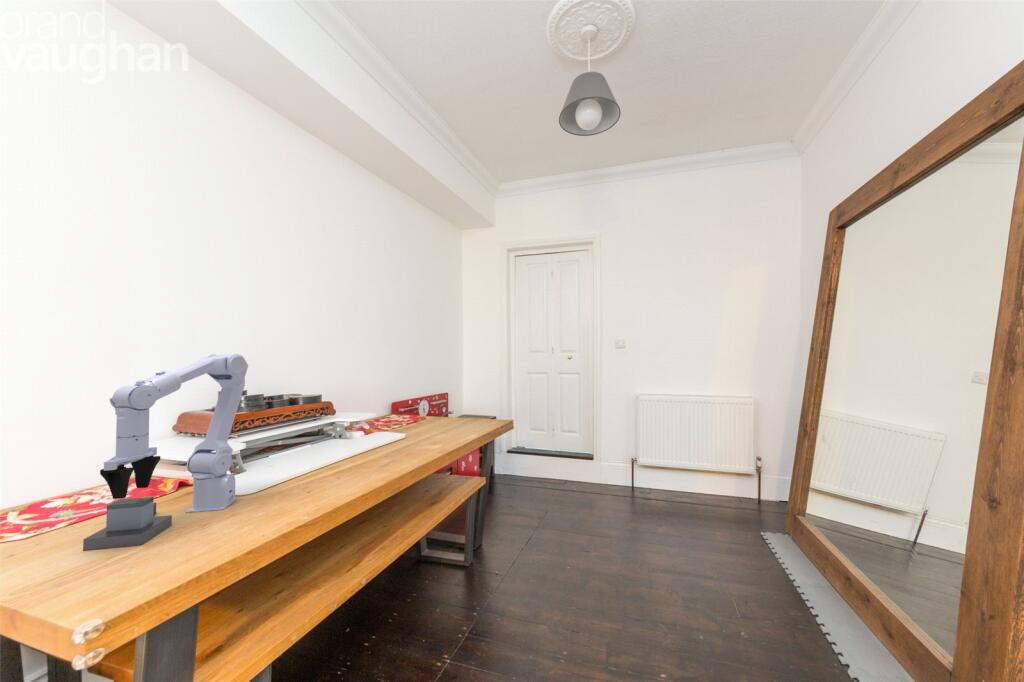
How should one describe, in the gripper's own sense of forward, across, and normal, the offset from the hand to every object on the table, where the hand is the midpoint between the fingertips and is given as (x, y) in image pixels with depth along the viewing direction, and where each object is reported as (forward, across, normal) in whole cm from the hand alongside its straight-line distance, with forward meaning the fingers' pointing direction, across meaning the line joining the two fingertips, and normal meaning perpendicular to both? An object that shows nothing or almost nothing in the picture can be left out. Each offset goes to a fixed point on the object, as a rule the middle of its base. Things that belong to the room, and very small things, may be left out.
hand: (131, 492), depth 95 cm
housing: (+8, 0, 0) cm, 8 cm away
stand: (+10, 0, 0) cm, 10 cm away
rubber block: (+11, +14, +5) cm, 18 cm away
